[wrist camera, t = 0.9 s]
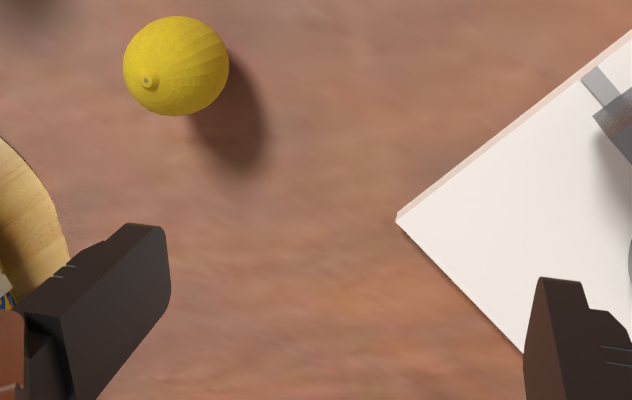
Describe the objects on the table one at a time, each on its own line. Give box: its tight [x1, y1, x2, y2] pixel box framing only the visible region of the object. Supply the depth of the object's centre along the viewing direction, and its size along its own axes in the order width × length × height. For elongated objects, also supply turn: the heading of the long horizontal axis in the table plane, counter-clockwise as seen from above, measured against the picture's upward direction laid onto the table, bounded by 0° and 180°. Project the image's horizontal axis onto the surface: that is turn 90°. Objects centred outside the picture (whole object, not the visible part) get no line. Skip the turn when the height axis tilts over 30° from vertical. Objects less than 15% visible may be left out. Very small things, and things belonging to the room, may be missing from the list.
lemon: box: [123, 16, 229, 116], centre depth 34 cm, size 6×6×8 cm
